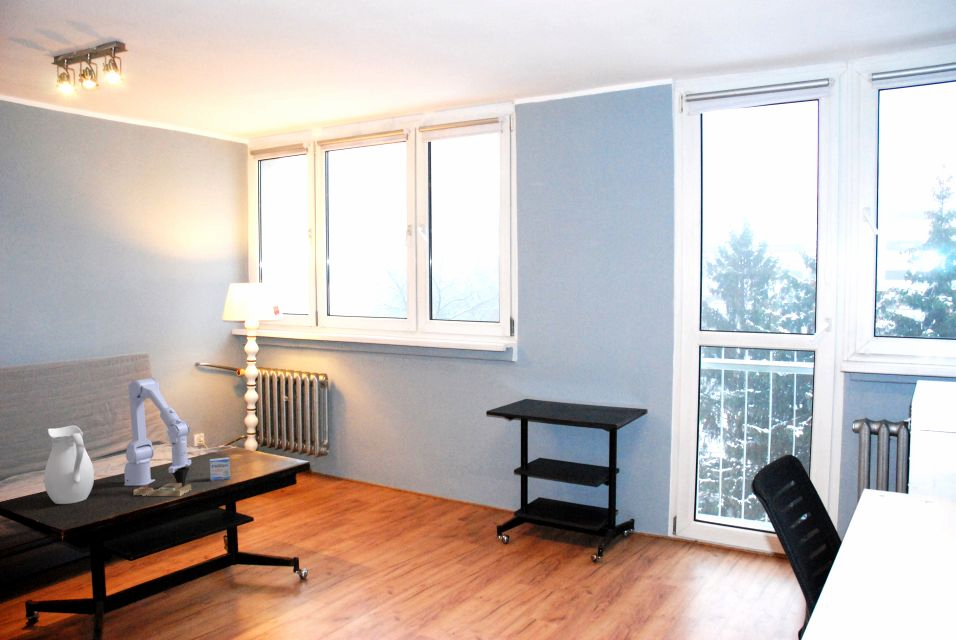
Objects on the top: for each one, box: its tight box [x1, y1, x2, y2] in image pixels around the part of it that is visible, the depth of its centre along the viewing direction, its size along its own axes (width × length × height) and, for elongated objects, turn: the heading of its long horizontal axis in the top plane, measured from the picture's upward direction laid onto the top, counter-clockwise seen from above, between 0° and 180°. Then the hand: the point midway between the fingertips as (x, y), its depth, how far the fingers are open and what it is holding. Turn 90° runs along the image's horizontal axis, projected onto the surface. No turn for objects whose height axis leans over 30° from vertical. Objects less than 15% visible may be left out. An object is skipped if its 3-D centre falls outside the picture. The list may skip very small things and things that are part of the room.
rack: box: [132, 483, 192, 497], centre depth 298 cm, size 19×9×3 cm, turn 84°
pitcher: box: [43, 424, 95, 505], centre depth 287 cm, size 24×17×28 cm
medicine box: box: [209, 456, 231, 482], centre depth 317 cm, size 8×4×9 cm, turn 112°
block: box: [162, 482, 183, 490], centre depth 297 cm, size 5×5×4 cm
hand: (181, 486), depth 303 cm, fingers closed
